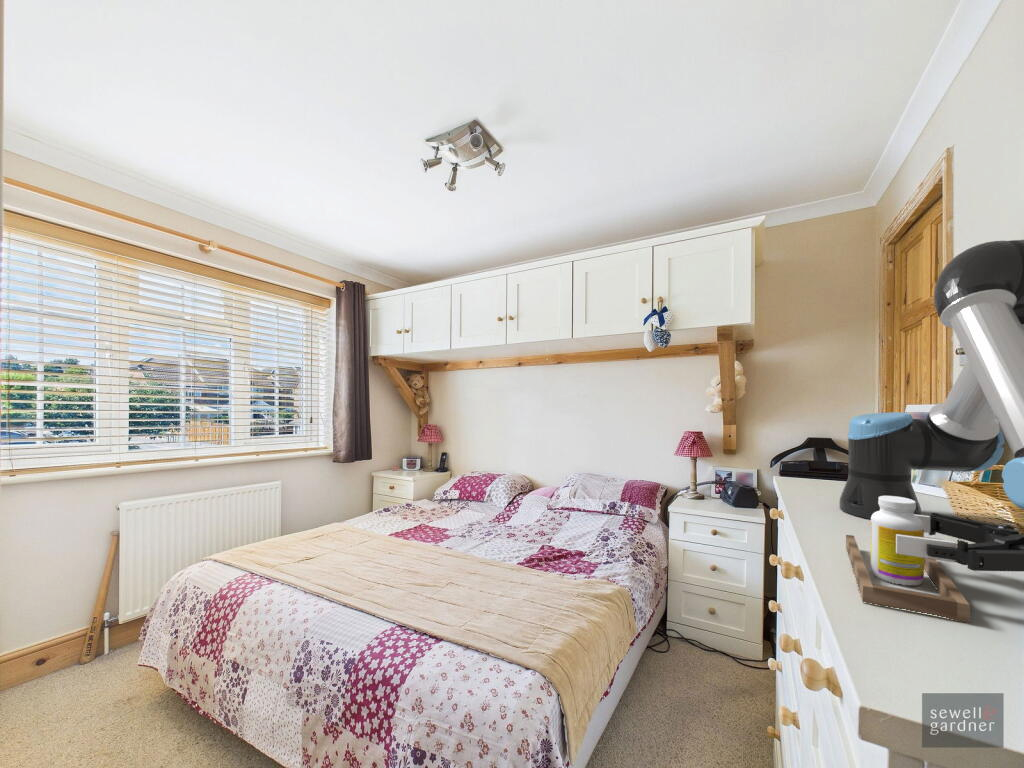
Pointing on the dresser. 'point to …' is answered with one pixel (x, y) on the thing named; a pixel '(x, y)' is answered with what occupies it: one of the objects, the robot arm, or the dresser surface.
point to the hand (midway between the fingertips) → (887, 530)
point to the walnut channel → (944, 605)
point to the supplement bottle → (884, 527)
